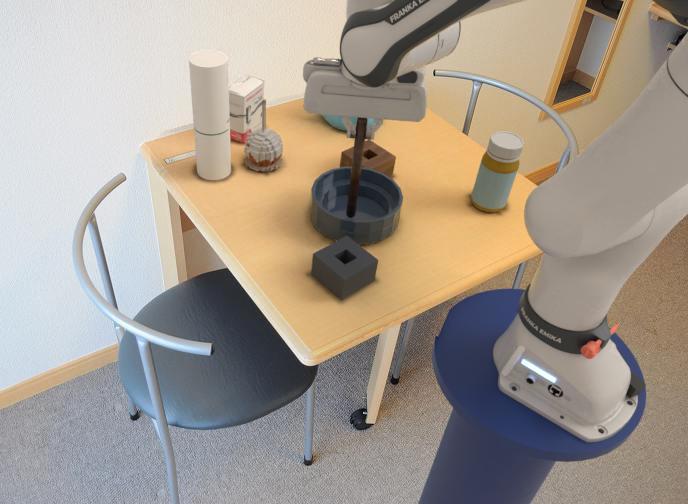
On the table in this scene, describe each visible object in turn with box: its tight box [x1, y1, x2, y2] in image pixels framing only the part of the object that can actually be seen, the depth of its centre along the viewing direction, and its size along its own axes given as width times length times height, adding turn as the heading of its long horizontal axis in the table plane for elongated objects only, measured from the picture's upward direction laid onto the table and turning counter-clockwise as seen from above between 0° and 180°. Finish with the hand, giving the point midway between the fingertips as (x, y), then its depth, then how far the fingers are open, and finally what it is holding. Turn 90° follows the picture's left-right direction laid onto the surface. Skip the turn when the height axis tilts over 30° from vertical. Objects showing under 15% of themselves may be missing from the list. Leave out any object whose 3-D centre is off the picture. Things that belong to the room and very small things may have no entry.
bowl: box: [309, 166, 404, 245], centre depth 126 cm, size 17×17×6 cm
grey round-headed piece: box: [244, 98, 284, 173], centre depth 135 cm, size 8×8×15 cm
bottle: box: [470, 130, 525, 214], centre depth 128 cm, size 7×7×15 cm
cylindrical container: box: [188, 48, 232, 181], centre depth 129 cm, size 7×7×25 cm
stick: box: [346, 117, 368, 218], centre depth 117 cm, size 2×2×22 cm
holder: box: [339, 139, 397, 178], centre depth 137 cm, size 8×8×5 cm
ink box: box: [229, 74, 265, 144], centre depth 145 cm, size 9×5×12 cm, turn 150°
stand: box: [310, 236, 379, 301], centre depth 114 cm, size 8×8×5 cm
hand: (360, 137), depth 113 cm, fingers closed on stick, 2 cm apart
